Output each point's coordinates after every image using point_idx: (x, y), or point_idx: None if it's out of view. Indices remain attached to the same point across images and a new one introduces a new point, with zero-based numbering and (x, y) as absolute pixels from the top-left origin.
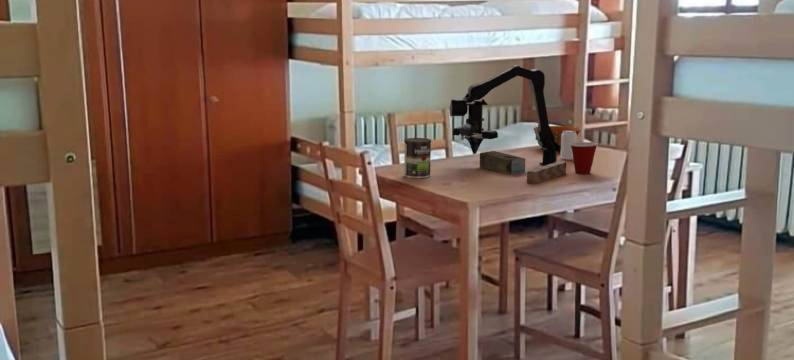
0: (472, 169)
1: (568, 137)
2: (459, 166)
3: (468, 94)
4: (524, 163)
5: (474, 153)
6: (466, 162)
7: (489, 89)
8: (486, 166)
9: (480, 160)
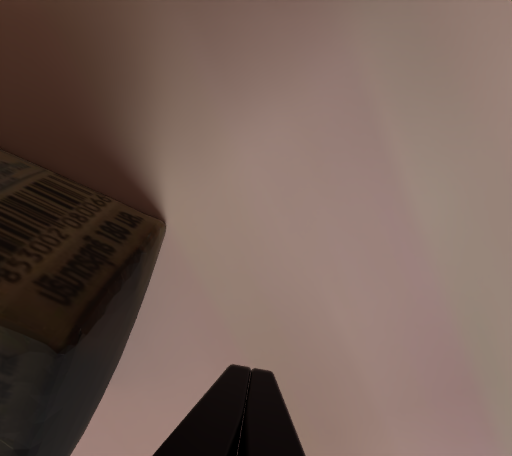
0: None
1: None
2: (457, 105)
3: None
4: None
5: (231, 368)
6: (446, 398)
7: None
8: (7, 161)
9: (110, 250)
